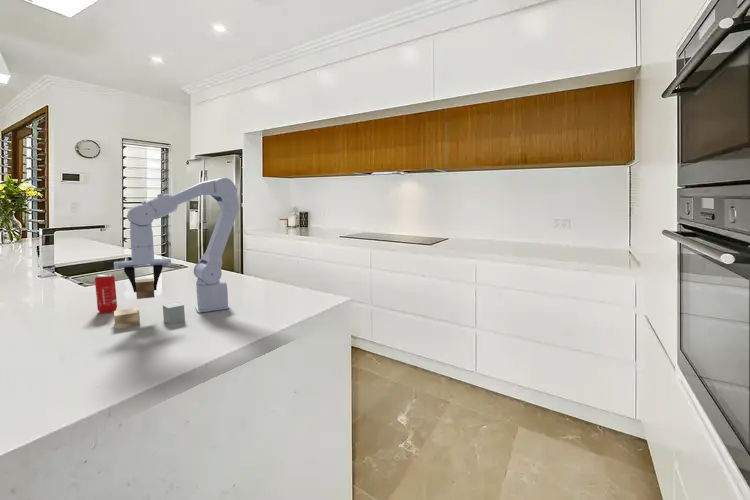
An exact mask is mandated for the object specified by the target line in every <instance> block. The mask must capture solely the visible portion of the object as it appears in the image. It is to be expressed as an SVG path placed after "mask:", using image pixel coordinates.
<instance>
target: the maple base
mask: <svg viewBox="0 0 750 500" xmlns="http://www.w3.org/2000/svg"><path fill="white" fill-rule="evenodd" d="M113 315H114V317H113V318H114V327H115V328H114V329H115V330H117V329H124V328H129V327H130V328H131V327H137V326H141V317H140V310H139V307H133V308H126V309H125V308H124V309H118V310H117V309H116V311H114V312H113Z"/></svg>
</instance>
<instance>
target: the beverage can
mask: <svg viewBox="0 0 750 500" xmlns="http://www.w3.org/2000/svg"><path fill="white" fill-rule="evenodd" d="M94 282H95V283H94V284H95V295H96V296H95V297H96V305H97V307H96V308H97V311H98V312H99V314H111V313H114V311H116V310H117V309H118V301H117V288H116V279H115V275H114V274H113V273H105V274H104V273H103V274H98V275H95V278H94Z"/></svg>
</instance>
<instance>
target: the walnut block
mask: <svg viewBox="0 0 750 500" xmlns="http://www.w3.org/2000/svg"><path fill="white" fill-rule="evenodd" d="M135 282H136V292H135V293H136V299H137V300H141V299H150V298H151V299H152V298H155V290H154V277H152V278H141V279H135Z"/></svg>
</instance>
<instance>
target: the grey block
mask: <svg viewBox="0 0 750 500" xmlns="http://www.w3.org/2000/svg"><path fill="white" fill-rule="evenodd" d="M162 314H163V321H164V322H165V323H166V324H168V325H172V324H176V323H182V322H185V321H186V317H185V316H186V314H185V304H183V303H180V302H174V303H167V304H166V303H165V304H162Z"/></svg>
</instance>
